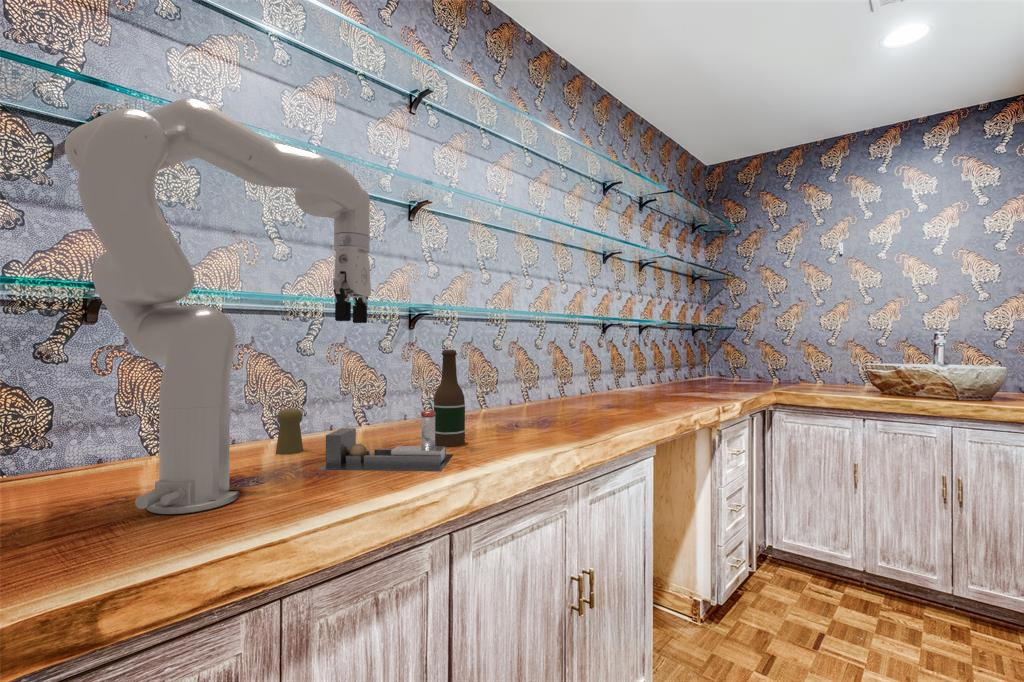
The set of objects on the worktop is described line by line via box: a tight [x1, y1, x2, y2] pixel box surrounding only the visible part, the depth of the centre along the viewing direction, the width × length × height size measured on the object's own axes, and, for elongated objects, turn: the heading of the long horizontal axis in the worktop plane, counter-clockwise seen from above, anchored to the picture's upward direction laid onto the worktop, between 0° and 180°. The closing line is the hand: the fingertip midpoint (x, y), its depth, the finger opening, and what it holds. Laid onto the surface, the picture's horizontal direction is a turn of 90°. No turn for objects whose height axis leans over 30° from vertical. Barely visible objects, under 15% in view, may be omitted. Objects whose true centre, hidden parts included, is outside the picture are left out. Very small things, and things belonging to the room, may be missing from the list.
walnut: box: [349, 443, 368, 460], centre depth 100 cm, size 4×4×4 cm
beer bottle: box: [433, 349, 466, 448], centre depth 117 cm, size 8×8×24 cm
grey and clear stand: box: [391, 410, 446, 463], centre depth 99 cm, size 4×10×10 cm, turn 87°
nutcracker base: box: [316, 427, 454, 473], centre depth 99 cm, size 14×24×8 cm, turn 87°
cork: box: [274, 407, 304, 456], centre depth 109 cm, size 6×6×11 cm
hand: (351, 322), depth 108 cm, fingers open, 9 cm apart
